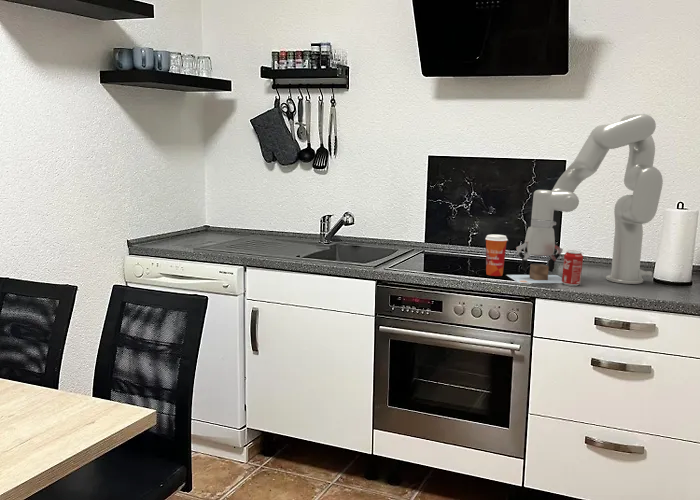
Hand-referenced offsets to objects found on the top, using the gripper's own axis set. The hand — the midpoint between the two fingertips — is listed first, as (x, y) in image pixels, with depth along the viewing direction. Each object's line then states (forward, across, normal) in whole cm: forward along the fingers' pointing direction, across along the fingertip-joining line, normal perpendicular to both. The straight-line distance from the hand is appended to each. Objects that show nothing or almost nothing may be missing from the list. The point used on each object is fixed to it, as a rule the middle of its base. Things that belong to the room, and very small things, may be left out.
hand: (537, 270), depth 254 cm
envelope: (+3, -1, 0) cm, 3 cm away
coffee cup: (+4, +13, -8) cm, 16 cm away
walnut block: (+3, -1, 0) cm, 3 cm away
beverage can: (+3, -9, +10) cm, 14 cm away
